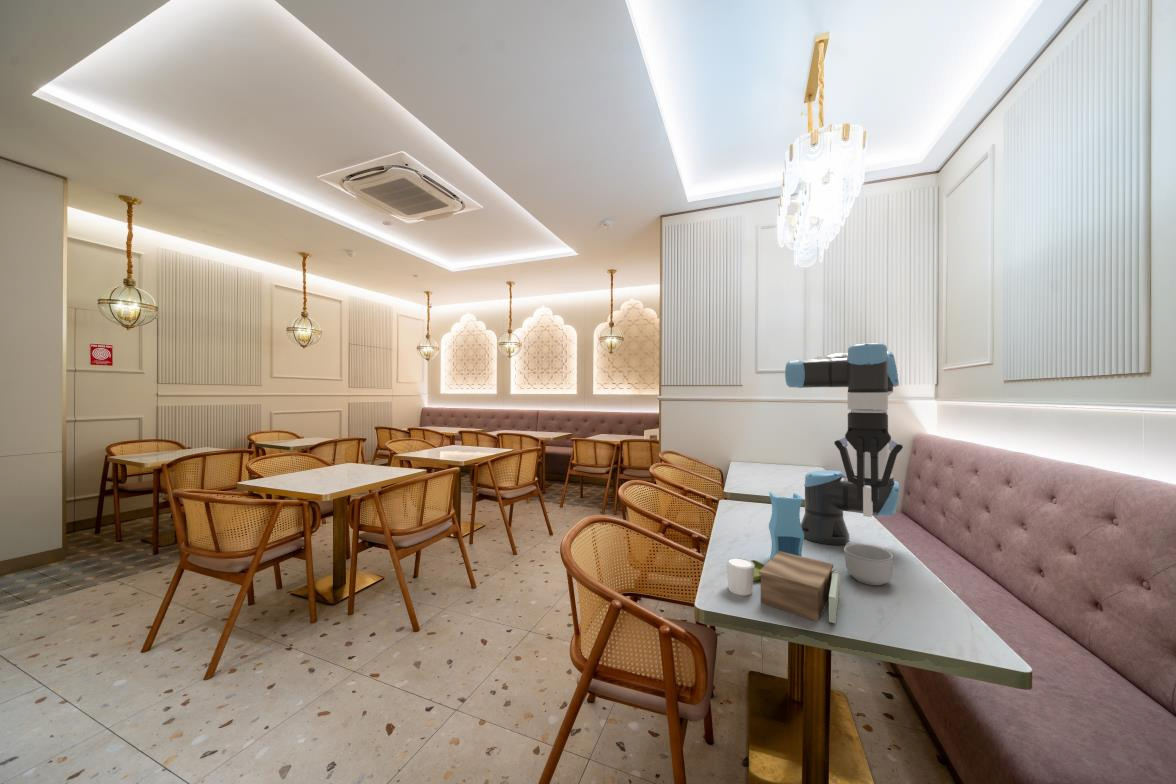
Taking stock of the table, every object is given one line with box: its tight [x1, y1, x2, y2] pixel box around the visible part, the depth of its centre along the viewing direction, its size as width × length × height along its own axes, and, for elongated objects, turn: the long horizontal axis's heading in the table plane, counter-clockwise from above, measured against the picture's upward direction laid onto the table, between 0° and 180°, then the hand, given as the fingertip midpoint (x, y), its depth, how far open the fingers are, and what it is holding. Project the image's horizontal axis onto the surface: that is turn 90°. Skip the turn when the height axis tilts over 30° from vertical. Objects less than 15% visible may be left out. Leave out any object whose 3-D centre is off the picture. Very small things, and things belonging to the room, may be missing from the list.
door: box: [828, 570, 840, 624], centre depth 91 cm, size 16×1×6 cm, turn 145°
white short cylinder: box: [725, 557, 755, 597], centre depth 100 cm, size 7×7×7 cm
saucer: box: [750, 559, 766, 582], centre depth 110 cm, size 9×9×2 cm
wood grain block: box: [759, 551, 834, 622], centre depth 96 cm, size 17×13×8 cm
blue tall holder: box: [768, 491, 805, 560], centre depth 117 cm, size 8×8×20 cm
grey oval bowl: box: [843, 541, 894, 586], centre depth 108 cm, size 14×11×8 cm
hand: (867, 515), depth 90 cm, fingers closed
